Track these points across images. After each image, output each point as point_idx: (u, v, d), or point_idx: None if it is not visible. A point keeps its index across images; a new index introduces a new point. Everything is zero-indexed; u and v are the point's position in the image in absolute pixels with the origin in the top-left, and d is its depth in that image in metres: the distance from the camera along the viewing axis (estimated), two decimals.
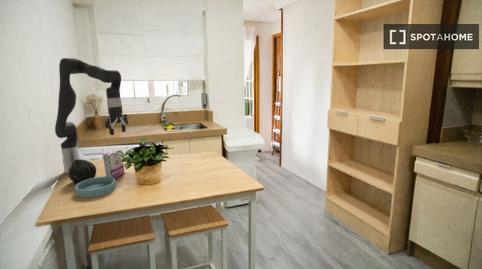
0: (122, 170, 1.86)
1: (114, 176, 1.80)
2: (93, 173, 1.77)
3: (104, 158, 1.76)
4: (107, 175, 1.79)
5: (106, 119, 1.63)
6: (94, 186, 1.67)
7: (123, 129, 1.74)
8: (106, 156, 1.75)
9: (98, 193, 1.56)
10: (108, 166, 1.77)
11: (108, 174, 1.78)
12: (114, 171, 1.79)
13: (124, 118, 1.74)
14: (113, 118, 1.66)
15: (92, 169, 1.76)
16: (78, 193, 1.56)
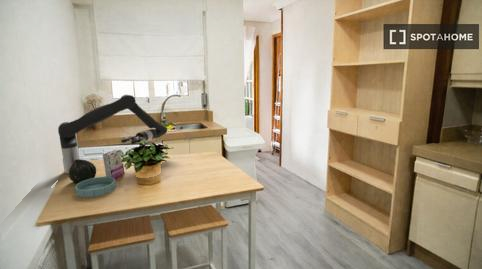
0: (122, 170, 1.86)
1: (114, 176, 1.80)
2: (93, 173, 1.77)
3: (104, 158, 1.76)
4: (107, 175, 1.79)
5: (145, 139, 1.96)
6: (94, 186, 1.67)
7: (124, 141, 1.93)
8: (106, 156, 1.75)
9: (98, 193, 1.56)
10: (108, 166, 1.77)
11: (108, 174, 1.78)
12: (114, 171, 1.79)
13: None
14: None
15: (92, 169, 1.76)
16: (78, 193, 1.56)
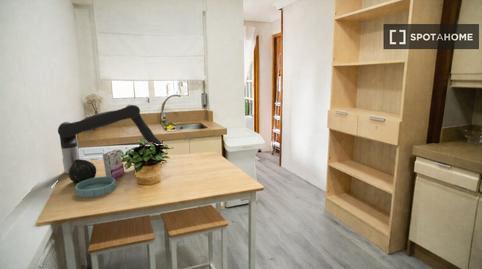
0: (122, 170, 1.86)
1: (114, 176, 1.80)
2: (93, 173, 1.77)
3: (104, 158, 1.76)
4: (107, 175, 1.79)
5: None
6: (94, 186, 1.67)
7: None
8: (106, 156, 1.75)
9: (98, 193, 1.56)
10: (108, 166, 1.77)
11: (108, 174, 1.78)
12: (114, 171, 1.79)
13: None
14: None
15: (92, 169, 1.76)
16: (78, 193, 1.56)
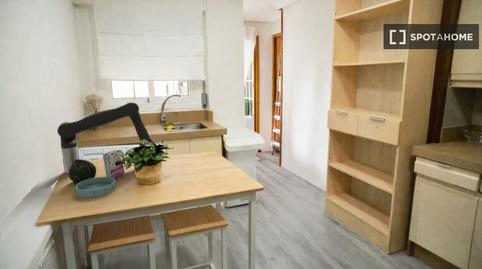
0: (122, 170, 1.86)
1: (114, 176, 1.80)
2: (93, 173, 1.77)
3: (104, 158, 1.76)
4: (107, 175, 1.79)
5: None
6: (94, 186, 1.67)
7: None
8: (106, 156, 1.75)
9: (98, 193, 1.56)
10: (108, 166, 1.77)
11: (108, 174, 1.78)
12: (114, 171, 1.79)
13: None
14: None
15: (92, 169, 1.76)
16: (78, 193, 1.56)
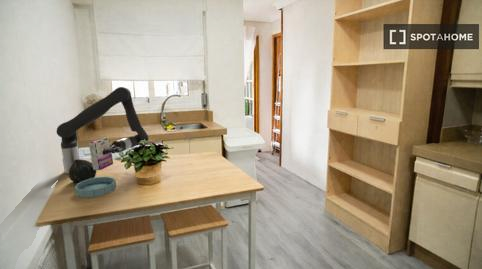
0: (110, 159, 1.72)
1: (101, 166, 1.66)
2: (93, 173, 1.77)
3: (90, 146, 1.63)
4: (94, 165, 1.65)
5: (120, 149, 1.73)
6: (94, 186, 1.67)
7: None
8: (92, 144, 1.62)
9: (98, 193, 1.56)
10: (95, 155, 1.63)
11: (95, 164, 1.64)
12: (101, 160, 1.66)
13: None
14: None
15: (92, 169, 1.76)
16: (78, 193, 1.56)
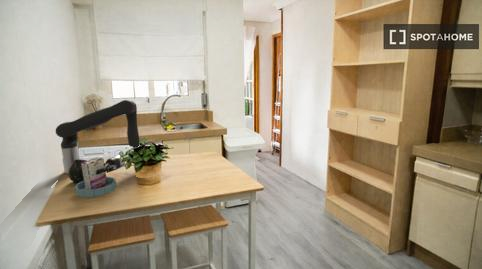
0: (104, 180, 1.66)
1: (94, 187, 1.60)
2: None
3: (82, 167, 1.57)
4: (86, 186, 1.59)
5: (115, 168, 1.67)
6: None
7: None
8: (84, 165, 1.56)
9: (98, 193, 1.56)
10: (87, 177, 1.57)
11: (88, 185, 1.59)
12: (94, 181, 1.60)
13: None
14: None
15: None
16: (78, 193, 1.56)
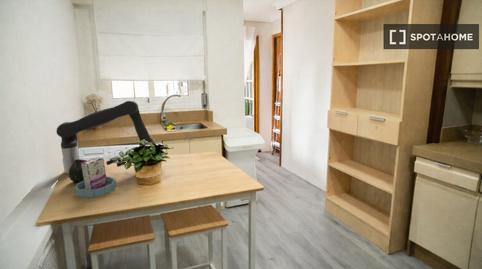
0: (104, 180, 1.66)
1: (94, 187, 1.60)
2: None
3: (82, 167, 1.57)
4: (86, 186, 1.59)
5: None
6: None
7: (109, 163, 1.76)
8: (84, 165, 1.56)
9: (98, 193, 1.56)
10: (87, 177, 1.57)
11: (88, 185, 1.59)
12: (94, 181, 1.60)
13: None
14: None
15: None
16: (78, 193, 1.56)
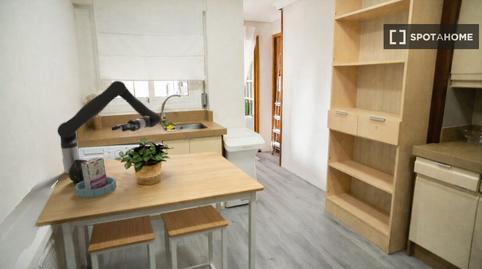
0: (104, 180, 1.66)
1: (94, 187, 1.60)
2: None
3: (82, 167, 1.57)
4: (86, 186, 1.59)
5: (137, 127, 1.84)
6: None
7: (114, 129, 1.82)
8: (84, 165, 1.56)
9: (98, 193, 1.56)
10: (87, 177, 1.57)
11: (88, 185, 1.59)
12: (94, 181, 1.60)
13: None
14: (132, 128, 1.86)
15: None
16: (78, 193, 1.56)
